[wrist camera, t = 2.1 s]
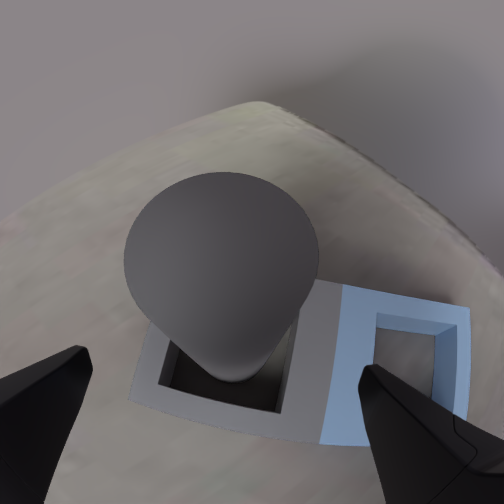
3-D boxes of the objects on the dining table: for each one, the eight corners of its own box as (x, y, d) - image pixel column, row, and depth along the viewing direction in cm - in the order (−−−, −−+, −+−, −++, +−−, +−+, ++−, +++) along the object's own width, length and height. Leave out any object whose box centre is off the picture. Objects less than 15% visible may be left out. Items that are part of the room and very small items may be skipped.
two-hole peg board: (448, 319, 20) (469, 307, 17) (439, 438, 15) (463, 439, 13) (183, 269, 21) (175, 249, 19) (143, 400, 17) (127, 399, 14)
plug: (279, 359, 19) (356, 268, 6) (224, 395, 17) (184, 388, 5) (241, 308, 20) (245, 150, 8) (187, 341, 19) (99, 224, 7)
